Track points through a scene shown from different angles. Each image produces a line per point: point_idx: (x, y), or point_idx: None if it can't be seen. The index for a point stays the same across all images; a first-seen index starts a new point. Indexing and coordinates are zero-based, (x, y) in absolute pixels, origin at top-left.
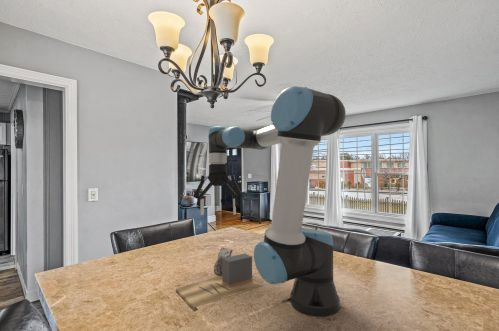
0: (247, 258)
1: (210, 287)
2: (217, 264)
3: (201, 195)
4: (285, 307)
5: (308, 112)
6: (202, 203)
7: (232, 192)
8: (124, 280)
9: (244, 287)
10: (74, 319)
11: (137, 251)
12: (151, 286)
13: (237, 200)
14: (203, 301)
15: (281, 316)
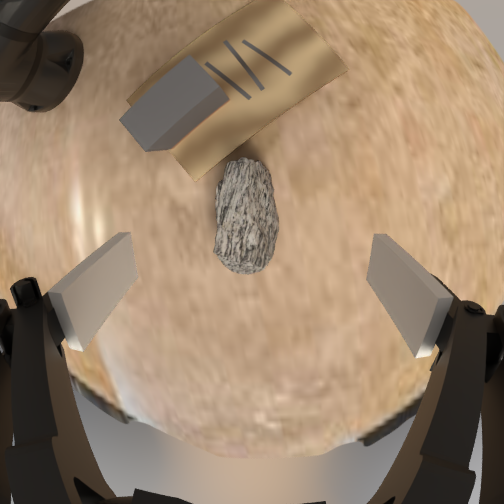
0: (133, 105)
1: (258, 71)
2: (255, 162)
3: (467, 329)
4: (94, 40)
5: None
6: (414, 283)
7: (24, 344)
8: (471, 149)
9: None
10: (456, 12)
11: None
12: (412, 105)
13: (45, 295)
14: (258, 9)
15: (106, 13)
